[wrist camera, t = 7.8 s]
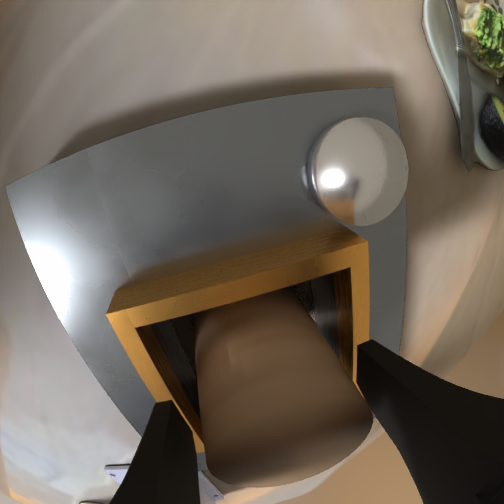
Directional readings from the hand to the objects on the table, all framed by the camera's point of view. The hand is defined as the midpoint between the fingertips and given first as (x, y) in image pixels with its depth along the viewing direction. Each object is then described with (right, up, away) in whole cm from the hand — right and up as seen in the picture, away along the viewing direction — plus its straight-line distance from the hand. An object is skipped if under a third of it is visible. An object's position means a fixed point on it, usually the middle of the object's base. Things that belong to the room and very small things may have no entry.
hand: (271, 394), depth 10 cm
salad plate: (+14, +18, +3) cm, 22 cm away
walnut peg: (-1, +2, +5) cm, 5 cm away
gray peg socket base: (-1, +2, +5) cm, 5 cm away
